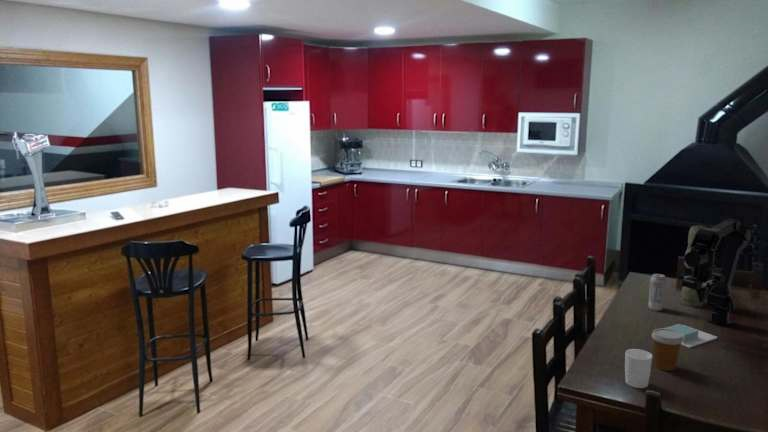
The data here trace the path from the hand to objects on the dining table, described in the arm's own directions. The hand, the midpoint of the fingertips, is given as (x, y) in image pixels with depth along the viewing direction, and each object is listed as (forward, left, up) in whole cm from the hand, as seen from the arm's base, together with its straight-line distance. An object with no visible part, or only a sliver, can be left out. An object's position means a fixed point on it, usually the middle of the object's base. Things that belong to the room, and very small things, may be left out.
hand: (701, 301), depth 219 cm
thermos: (-28, -21, -13) cm, 37 cm away
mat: (+7, 0, -12) cm, 15 cm away
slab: (+6, 0, -10) cm, 12 cm away
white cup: (+55, +15, -13) cm, 58 cm away
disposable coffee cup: (+37, +12, -13) cm, 41 cm away
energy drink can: (-9, -25, -13) cm, 29 cm away
